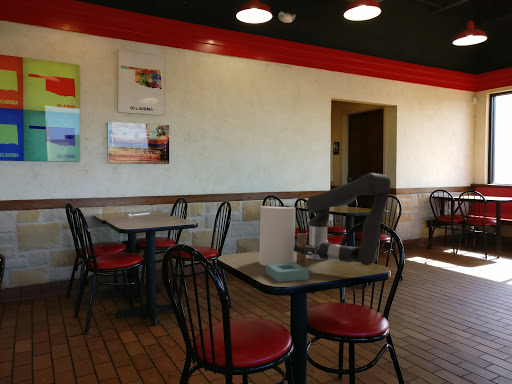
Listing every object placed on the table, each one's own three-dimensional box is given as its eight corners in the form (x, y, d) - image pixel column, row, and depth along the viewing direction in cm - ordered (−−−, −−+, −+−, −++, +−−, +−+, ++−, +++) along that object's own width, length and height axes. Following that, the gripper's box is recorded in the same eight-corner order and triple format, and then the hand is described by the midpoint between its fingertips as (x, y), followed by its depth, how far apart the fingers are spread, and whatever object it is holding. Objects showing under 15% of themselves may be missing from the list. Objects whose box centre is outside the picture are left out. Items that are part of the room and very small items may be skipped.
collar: (294, 271, 180) (294, 262, 180) (308, 279, 167) (308, 270, 167) (265, 273, 176) (265, 264, 175) (278, 281, 162) (278, 272, 162)
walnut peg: (303, 266, 189) (303, 233, 188) (307, 268, 185) (308, 234, 184) (294, 266, 188) (295, 233, 187) (298, 269, 184) (299, 234, 183)
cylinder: (292, 268, 186) (293, 209, 185) (256, 265, 189) (257, 207, 188) (295, 260, 203) (297, 206, 201) (262, 258, 206) (263, 204, 205)
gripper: (335, 241, 185) (301, 238, 193) (326, 246, 173) (290, 242, 181) (335, 257, 186) (301, 253, 194) (325, 263, 173) (289, 258, 181)
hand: (296, 248), depth 187 cm, fingers closed on walnut peg, 4 cm apart
